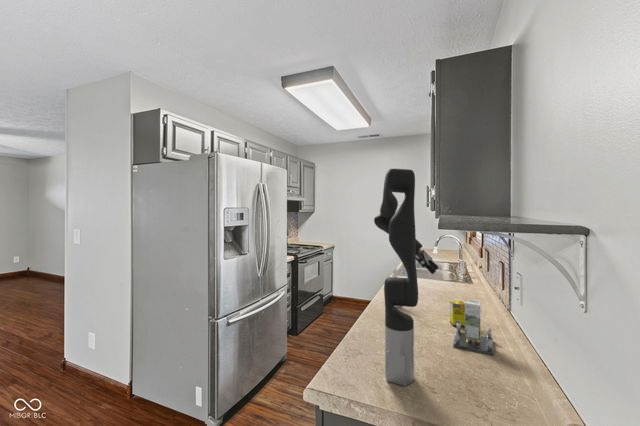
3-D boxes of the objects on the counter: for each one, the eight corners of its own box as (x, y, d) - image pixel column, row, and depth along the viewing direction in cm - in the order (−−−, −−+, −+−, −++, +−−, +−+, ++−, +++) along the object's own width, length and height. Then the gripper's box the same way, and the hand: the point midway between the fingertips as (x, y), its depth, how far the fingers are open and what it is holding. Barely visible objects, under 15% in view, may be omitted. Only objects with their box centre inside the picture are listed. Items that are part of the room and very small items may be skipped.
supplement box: (466, 327, 133) (466, 304, 133) (452, 326, 134) (452, 303, 134) (462, 322, 139) (462, 300, 139) (449, 321, 140) (449, 299, 140)
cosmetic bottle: (390, 306, 162) (390, 268, 162) (389, 303, 168) (389, 266, 168) (401, 307, 161) (400, 269, 161) (399, 303, 167) (399, 266, 167)
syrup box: (480, 335, 118) (480, 300, 118) (480, 340, 113) (480, 304, 113) (465, 332, 121) (465, 298, 120) (464, 337, 116) (464, 302, 115)
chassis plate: (493, 355, 107) (493, 342, 107) (453, 347, 114) (453, 334, 114) (492, 340, 119) (492, 328, 119) (455, 333, 126) (455, 322, 126)
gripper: (412, 239, 124) (440, 268, 118) (418, 237, 136) (444, 262, 130) (399, 251, 126) (427, 279, 121) (407, 247, 139) (431, 273, 133)
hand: (435, 270), depth 126 cm, fingers open, 8 cm apart
